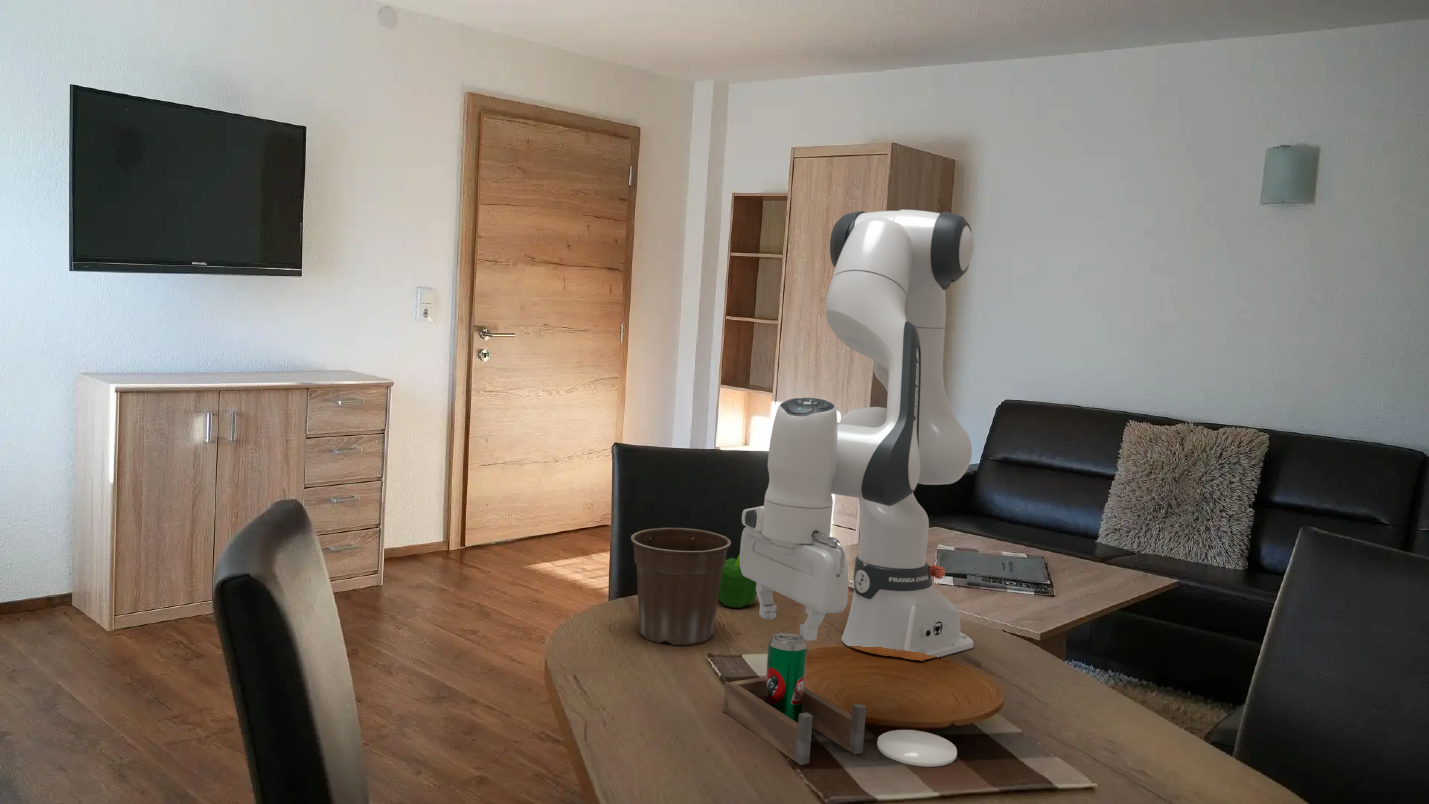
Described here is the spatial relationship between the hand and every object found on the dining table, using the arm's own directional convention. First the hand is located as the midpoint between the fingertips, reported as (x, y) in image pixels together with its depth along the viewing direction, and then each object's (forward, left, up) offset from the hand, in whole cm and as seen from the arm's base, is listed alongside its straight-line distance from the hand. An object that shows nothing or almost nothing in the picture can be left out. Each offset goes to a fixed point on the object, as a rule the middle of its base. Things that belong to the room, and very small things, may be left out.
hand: (787, 628), depth 145 cm
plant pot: (-5, -39, -14) cm, 42 cm away
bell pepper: (-24, -51, -14) cm, 58 cm away
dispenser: (0, +1, -13) cm, 13 cm away
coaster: (-12, +13, -13) cm, 22 cm away
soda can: (0, 0, -14) cm, 14 cm away
